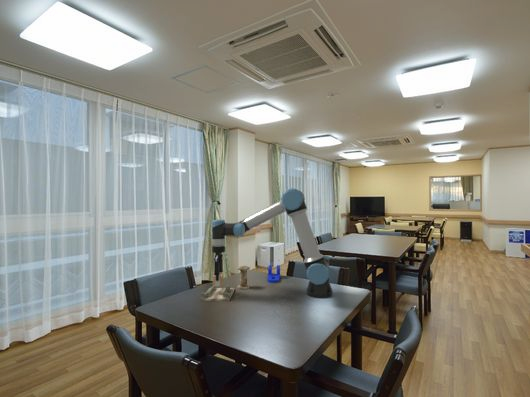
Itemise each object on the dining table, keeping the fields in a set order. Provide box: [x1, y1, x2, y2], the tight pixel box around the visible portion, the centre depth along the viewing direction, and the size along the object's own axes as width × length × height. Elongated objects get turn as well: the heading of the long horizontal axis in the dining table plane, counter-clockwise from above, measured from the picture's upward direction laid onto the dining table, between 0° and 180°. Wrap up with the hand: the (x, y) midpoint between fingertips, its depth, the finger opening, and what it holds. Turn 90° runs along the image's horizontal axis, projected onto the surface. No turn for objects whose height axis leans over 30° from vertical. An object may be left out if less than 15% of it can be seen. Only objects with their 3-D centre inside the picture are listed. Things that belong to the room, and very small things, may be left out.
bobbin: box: [236, 265, 251, 290], centre depth 184 cm, size 8×8×13 cm
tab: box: [212, 273, 224, 287], centre depth 170 cm, size 5×5×7 cm
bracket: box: [266, 264, 281, 284], centre depth 203 cm, size 18×8×9 cm, turn 174°
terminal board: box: [200, 284, 236, 302], centre depth 170 cm, size 16×20×4 cm
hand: (218, 284), depth 170 cm, fingers closed on tab, 5 cm apart
